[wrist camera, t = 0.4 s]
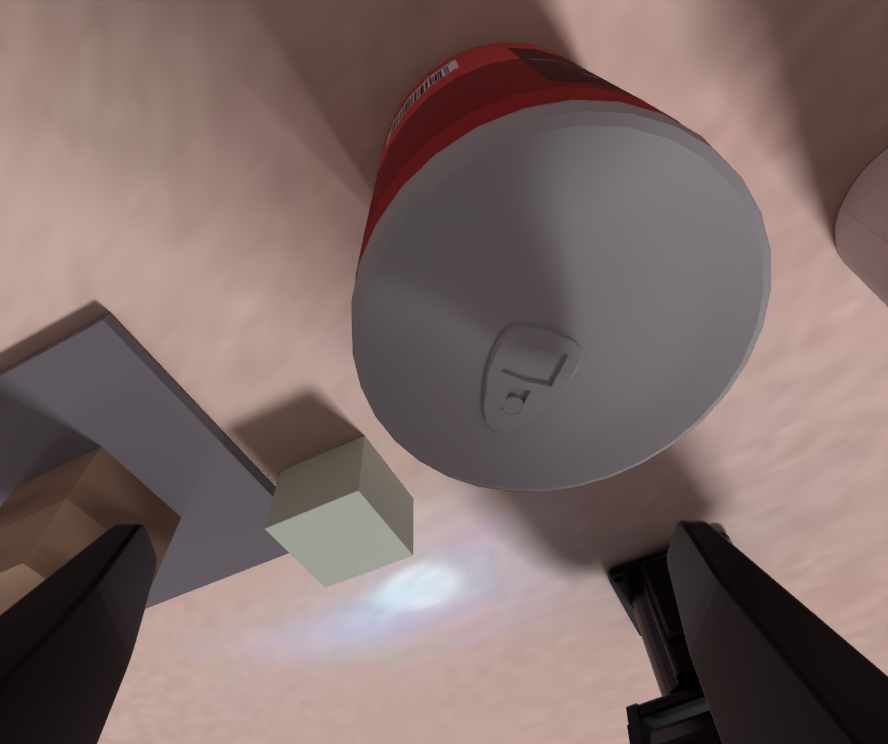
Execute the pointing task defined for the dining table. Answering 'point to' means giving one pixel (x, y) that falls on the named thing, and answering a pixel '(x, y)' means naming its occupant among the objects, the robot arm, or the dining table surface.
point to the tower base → (96, 497)
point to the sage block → (342, 513)
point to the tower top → (41, 547)
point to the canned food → (550, 275)
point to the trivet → (138, 449)
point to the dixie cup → (866, 227)
